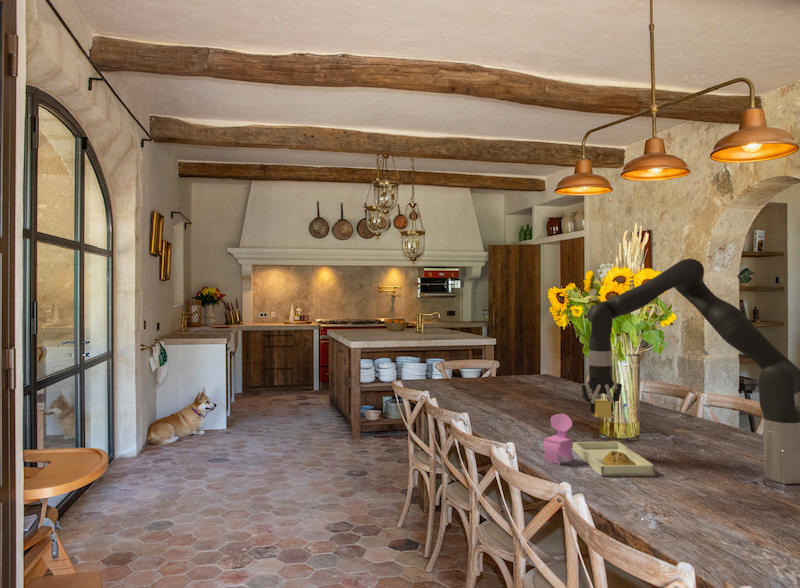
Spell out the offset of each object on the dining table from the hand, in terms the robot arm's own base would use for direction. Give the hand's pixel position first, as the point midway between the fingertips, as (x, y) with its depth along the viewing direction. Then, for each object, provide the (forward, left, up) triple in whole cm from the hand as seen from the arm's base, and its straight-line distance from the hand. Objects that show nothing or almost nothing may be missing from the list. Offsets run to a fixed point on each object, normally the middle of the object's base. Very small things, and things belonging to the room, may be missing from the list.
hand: (601, 413), depth 191 cm
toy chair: (-5, +16, -14) cm, 22 cm away
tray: (-8, 0, -14) cm, 16 cm away
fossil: (-16, +1, -13) cm, 21 cm away
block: (0, 0, -1) cm, 1 cm away
